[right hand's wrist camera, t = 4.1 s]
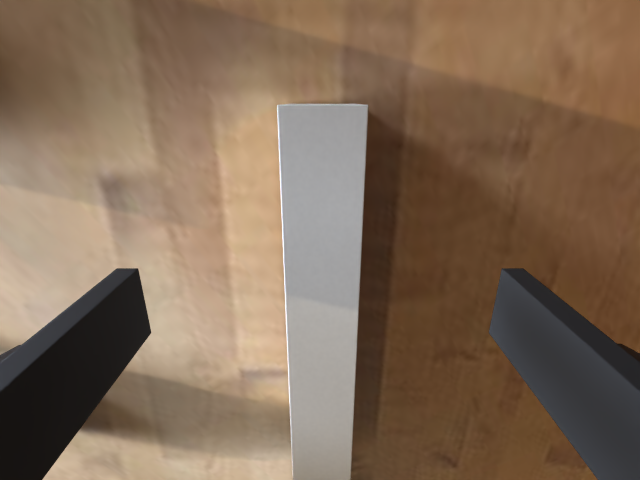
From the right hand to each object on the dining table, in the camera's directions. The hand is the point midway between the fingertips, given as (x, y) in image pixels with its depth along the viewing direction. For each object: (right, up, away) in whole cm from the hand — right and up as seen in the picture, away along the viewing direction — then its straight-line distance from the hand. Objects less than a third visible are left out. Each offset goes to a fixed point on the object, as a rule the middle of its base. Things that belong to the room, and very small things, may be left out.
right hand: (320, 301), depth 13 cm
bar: (0, -12, +23) cm, 26 cm away
